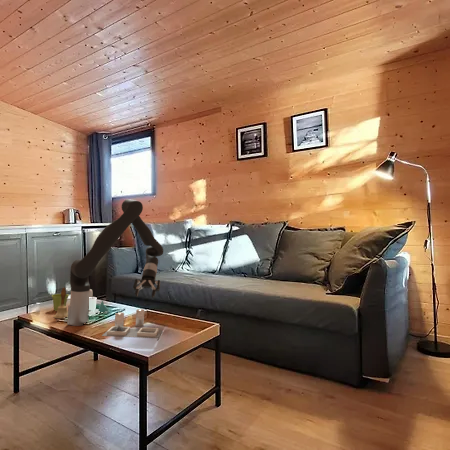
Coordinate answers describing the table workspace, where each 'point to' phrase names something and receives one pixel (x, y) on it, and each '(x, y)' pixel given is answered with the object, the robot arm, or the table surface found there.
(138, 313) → the block
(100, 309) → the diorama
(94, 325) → the table surface
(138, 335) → the pallet board
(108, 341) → the table surface
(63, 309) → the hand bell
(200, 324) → the table surface
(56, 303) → the plant pot
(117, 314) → the block
